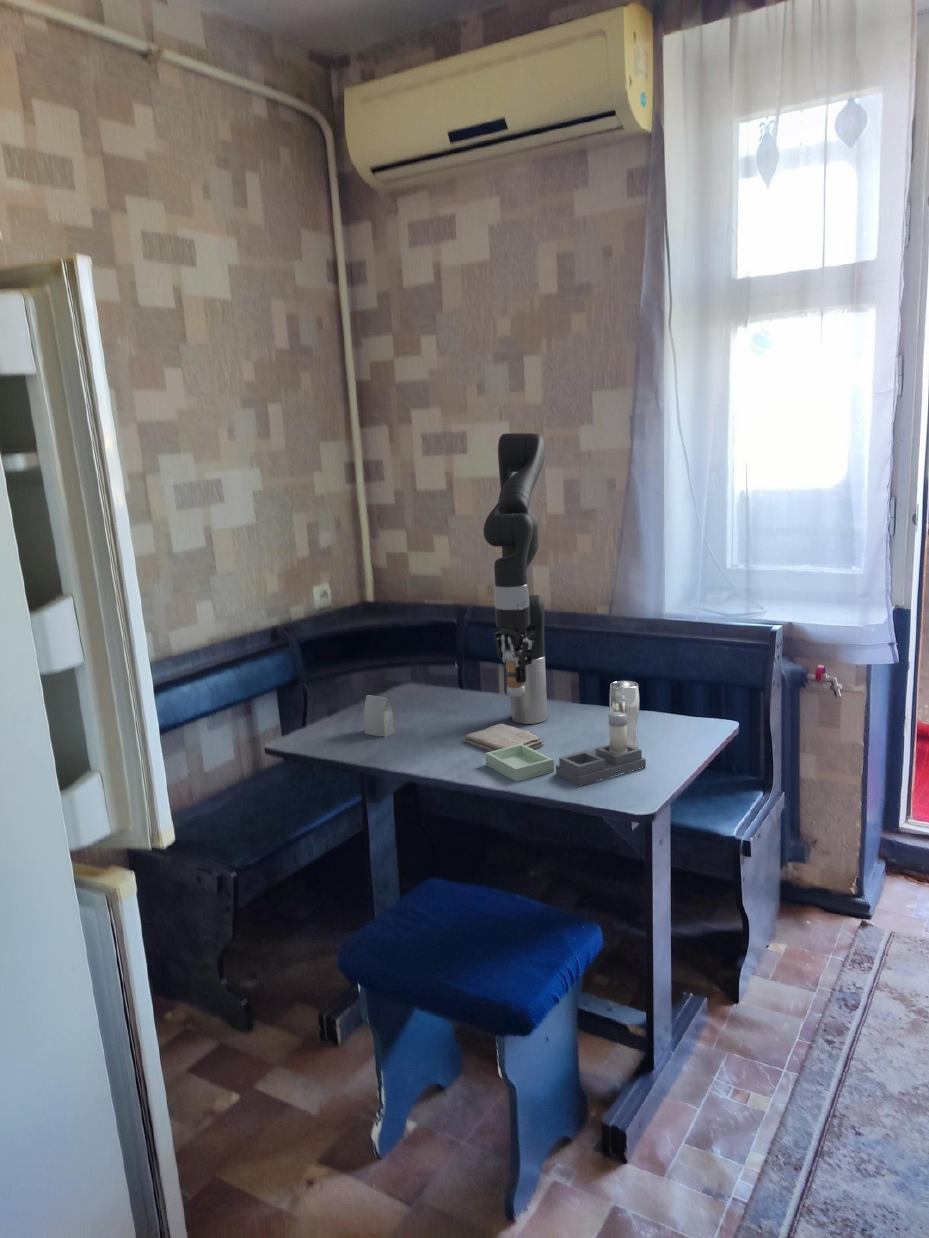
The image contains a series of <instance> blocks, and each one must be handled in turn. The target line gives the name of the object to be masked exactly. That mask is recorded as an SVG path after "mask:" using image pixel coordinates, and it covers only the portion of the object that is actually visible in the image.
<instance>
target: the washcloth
mask: <svg viewBox="0 0 929 1238" xmlns="http://www.w3.org/2000/svg"><path fill="white" fill-rule="evenodd" d="M540 739H541V737H540V736H537V735H535V734H533V733H531V731H530V730H526V729H525V730H524V729H521V728H518V727H515V726H512V725H507V724H505V723H499V724H498V723H497V724H494V725H491V726H489V727H488V728H485V729H483V730H477V731H475V732H472V733H469V734H466V735H465V736H464V742H465V743H468V744H470V745H473V746H476V747H477V748H478V747H479V748H481V749H484V750H485V751H486V750H487V751H489V752H491V751H495V750H499V749H503V748H507V747H511V746H515V745H519V744H523V745H526V746H528V747H530V748H532V749H534V750H537V749H538V750H539V749H540V748H543V747H544V743H543V741H542V740H540Z"/></svg>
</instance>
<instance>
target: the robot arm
mask: <svg viewBox="0 0 929 1238" xmlns="http://www.w3.org/2000/svg"><path fill="white" fill-rule="evenodd" d="M544 440H545V439H544V438H543V436H542V435H541V434H539V433H534V432H532V433H530V432H527V433H526V432H523V433H521V432H519V433H517V432H516V433H513V432H512V433H510V432H509V433H508V432H507V433H503V434H501V435H500V437H499V439H498V442H497V443H498V444H497V457H498V458H497V461H498V471H499V472H498V473H499V482H500V483H499V484H500V485H499V486H500V491H499V496H498V501H497V504H495V506H494V507H493V509H492V510H491V511H490V512H489V514H488V515H487V516H486V520H485V522H484V526H483V537H484V539H485V542H486V543H488V545H490V546H492V547H501V557H499V558H497V559H496V560H495V562H494V567H493V570H494V612H495V614H494V615H495V626H496V627H497V628H499V629H500V631H497V632H496V631H495V632H493V639H494V643H495V648H496V652H497V657H498V658H499V659H502V662H503V663H504V675H505V676H504V677H505V679H506V680H507V675H506V660H505V651H506V650H507V649H508V650H511V654H512V657H514V660H515V665H516V667H515V673H516V682H517V683H524V685H525V695H523V696H518V697H512V696H509V697H510V698H509V699H510V717H511V718H512V721H513V722H515V723H518V724H522V725H525V724H526V725H534V724H540V723H544V722H545V721H547V719H548V700H547V699H548V698H547V678H546V677H547V675H546V673H547V672H546V653H545V604H544V600H543V598H542V597H541V596H540V594H529V593H530V592H529V587H528V571H527V569H528V567H529V566H530V564H531V563H532V561H533V560H534V559H535V556H536V555H537V553H538V550H539V525H538V524H539V523H538V520H537V518H536V516H535V514H534V513H533V511H532V510H531V507H530V505H531V504H530V503H531V497H532V494H533V491H534V488H535V486H536V483H537V482H538V479H539V477H540V474H541V471H542V469H543V467H544V462H545V453H546V452H545V449H546V448H545V442H544ZM527 632H530V633H529V634H527ZM520 650H521V652H519V653H517V652H516V651H520ZM519 656H520V661H519Z"/></svg>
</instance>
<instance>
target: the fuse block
mask: <svg viewBox="0 0 929 1238" xmlns="http://www.w3.org/2000/svg"><path fill="white" fill-rule="evenodd" d="M609 749H610V743H609V744H606V745H602V746H599V747H596V748H595V754H594V753H591V752H589V751H588V750H584V751H579V752H576V753H573V754H568V755H564V756H561V757H558V760H559V761H558V763H559V764H557V765H556V764H555V775H557V776H559V777H560V778H563V779H565V780H567V781H569V782H571V783H572V784H574V783H575V784H574V785H577V786H578V785H584V786H587V785H590V784H589V783H591V782H594V783H596V782H595V781H597V780H600V779H605V780H607V779H606V778H608V779H610V778H609V777H611V776H615V775H618V774H621V773H626V774H628V773H627V772H629V771H632V770H636V769H639V768H642V767H646V768H647V761H646V758H644V757H643V755H642V754H643V753H642V749H640V748H638V747H633V746H631V745H628V744H627V751H628V752H625V753H621V754H617V755H616V754H614V753H611V752H609ZM636 771H637V770H636ZM629 773H630V772H629ZM615 777H616V776H615ZM586 784H587V785H586ZM591 784H592V783H591Z"/></svg>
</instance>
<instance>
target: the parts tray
mask: <svg viewBox="0 0 929 1238" xmlns="http://www.w3.org/2000/svg"><path fill="white" fill-rule="evenodd" d="M554 762H555V760H554V759H553V758H551V757H550V756H548V755H546V754H544V753H542V752H540V751H537V749H535V750H534V749H532V748H530V747H528V746H526V745H523V744H519V745H515V746H511V747H507V748H503V749H499V750H495V751H488V752H485V765H486V766H487V767H489V768H491V769H493V770H495V771H496V772H498V773H500V774H501V775H503V776H505V777H507V778H509V779H511V780H512V781H514V782H521V781H526V780H528V779H533V778H535V777H539V776H542V775H546V773H547V774H550V773H554V772H555V763H554Z"/></svg>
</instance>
